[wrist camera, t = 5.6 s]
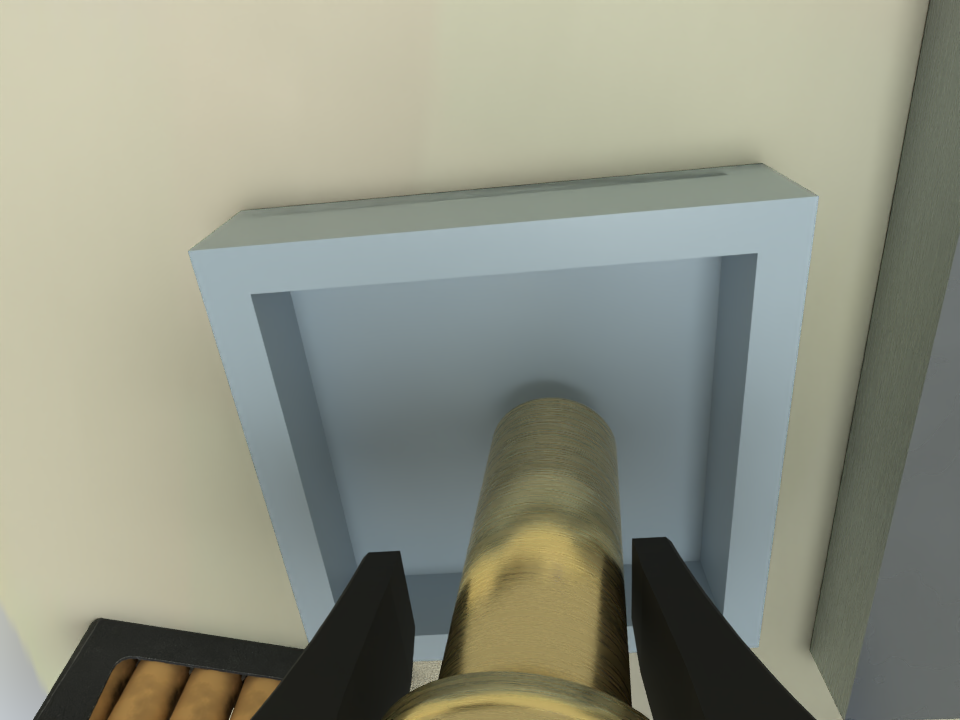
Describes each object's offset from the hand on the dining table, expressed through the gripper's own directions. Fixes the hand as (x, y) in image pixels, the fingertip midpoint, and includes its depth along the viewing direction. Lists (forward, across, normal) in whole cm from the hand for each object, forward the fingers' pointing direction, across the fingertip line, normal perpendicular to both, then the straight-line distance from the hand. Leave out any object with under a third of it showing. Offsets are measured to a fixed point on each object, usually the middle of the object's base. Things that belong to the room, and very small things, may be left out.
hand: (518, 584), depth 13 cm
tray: (+6, 0, 0) cm, 6 cm away
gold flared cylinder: (+4, -1, 0) cm, 4 cm away
